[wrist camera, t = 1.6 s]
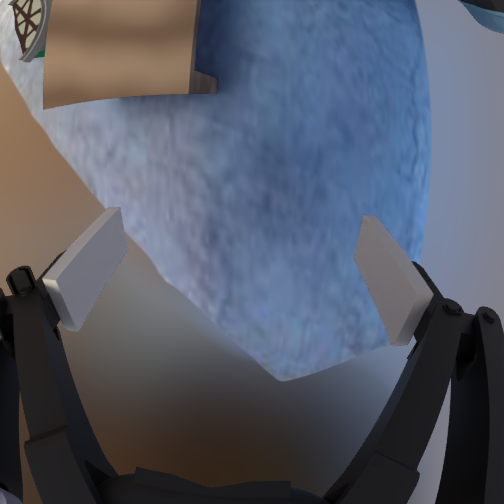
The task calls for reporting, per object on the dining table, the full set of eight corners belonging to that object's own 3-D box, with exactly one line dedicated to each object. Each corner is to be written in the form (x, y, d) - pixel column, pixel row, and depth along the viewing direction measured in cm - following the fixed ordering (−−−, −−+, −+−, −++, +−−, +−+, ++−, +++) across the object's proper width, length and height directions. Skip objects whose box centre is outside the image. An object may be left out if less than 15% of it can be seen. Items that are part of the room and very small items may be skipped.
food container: (93, 39, 27) (52, 32, 18) (62, 62, 28) (19, 63, 20) (76, -15, 21) (38, -28, 12) (46, 8, 22) (7, 2, 13)
